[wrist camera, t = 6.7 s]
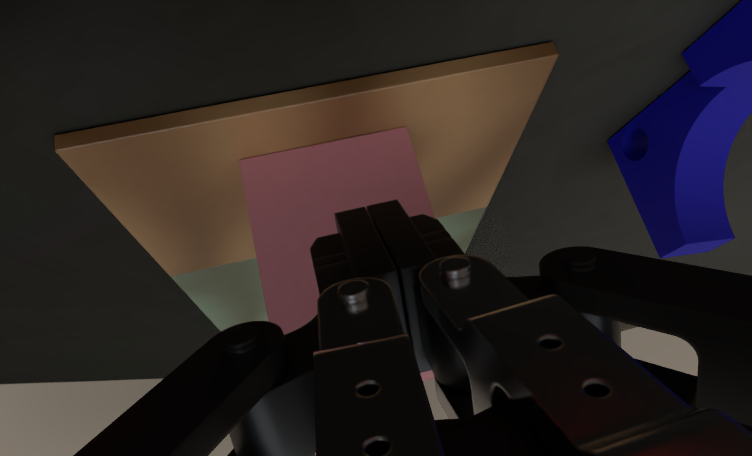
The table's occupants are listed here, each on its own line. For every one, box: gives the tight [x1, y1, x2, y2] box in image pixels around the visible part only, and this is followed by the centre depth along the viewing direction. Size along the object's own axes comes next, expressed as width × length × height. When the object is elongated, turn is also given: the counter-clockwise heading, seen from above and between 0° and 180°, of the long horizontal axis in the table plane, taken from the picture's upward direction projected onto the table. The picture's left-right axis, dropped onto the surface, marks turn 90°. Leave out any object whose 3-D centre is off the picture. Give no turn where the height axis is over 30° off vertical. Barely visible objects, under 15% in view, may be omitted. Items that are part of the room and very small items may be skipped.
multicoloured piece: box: [54, 42, 559, 331], centre depth 30 cm, size 16×24×1 cm, turn 0°
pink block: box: [239, 127, 435, 381], centre depth 22 cm, size 6×6×8 cm
